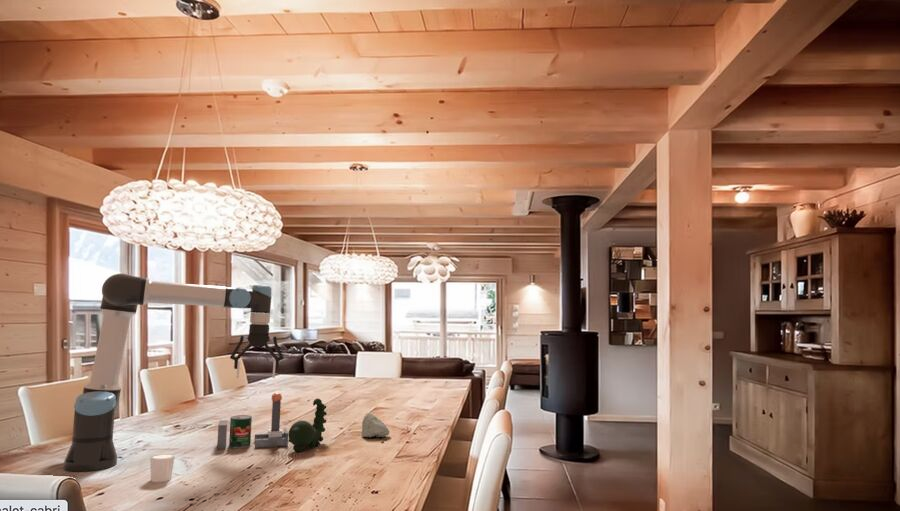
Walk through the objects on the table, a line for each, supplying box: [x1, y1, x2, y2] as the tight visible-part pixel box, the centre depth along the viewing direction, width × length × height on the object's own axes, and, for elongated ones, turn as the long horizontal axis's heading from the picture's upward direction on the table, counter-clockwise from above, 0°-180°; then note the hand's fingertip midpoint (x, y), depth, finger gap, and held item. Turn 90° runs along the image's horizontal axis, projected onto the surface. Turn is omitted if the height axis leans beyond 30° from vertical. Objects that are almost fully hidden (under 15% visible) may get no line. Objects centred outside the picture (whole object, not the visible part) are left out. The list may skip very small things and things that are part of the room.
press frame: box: [216, 419, 289, 451], centre depth 227 cm, size 11×26×9 cm, turn 109°
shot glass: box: [149, 453, 176, 483], centre depth 179 cm, size 7×7×7 cm
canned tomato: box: [228, 414, 253, 449], centre depth 225 cm, size 8×8×11 cm
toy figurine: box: [288, 397, 328, 453], centre depth 224 cm, size 9×19×25 cm
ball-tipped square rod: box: [267, 392, 283, 439], centre depth 230 cm, size 7×5×20 cm
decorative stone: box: [361, 413, 390, 438], centre depth 246 cm, size 13×11×10 cm
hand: (255, 377), depth 231 cm, fingers open, 13 cm apart
